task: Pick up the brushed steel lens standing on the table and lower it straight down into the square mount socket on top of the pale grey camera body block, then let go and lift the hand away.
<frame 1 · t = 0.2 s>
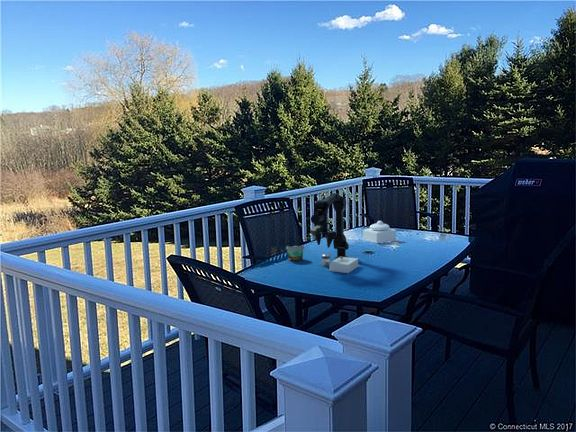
hand: (323, 246, 287), 13 cm above the table, tool pointing down, fingers open, 9 cm apart
camera body: (344, 268, 285), on the table
steel lens: (326, 265, 293), on the table
butter dish: (379, 241, 360), on the table
food container: (296, 261, 308), on the table
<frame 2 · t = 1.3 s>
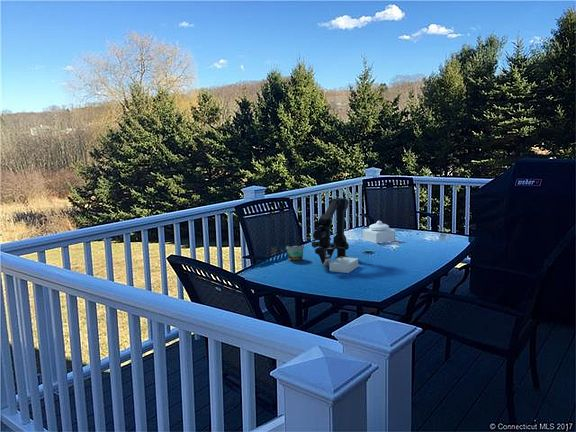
hand: (325, 261, 292), 3 cm above the table, tool pointing down, fingers open, 9 cm apart
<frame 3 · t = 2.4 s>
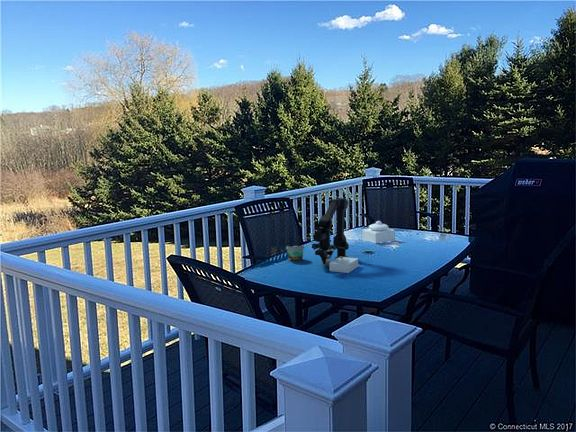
hand: (325, 263, 293), 2 cm above the table, tool pointing down, fingers closed on steel lens, 5 cm apart
steel lens: (326, 265, 293), on the table, touching gripper
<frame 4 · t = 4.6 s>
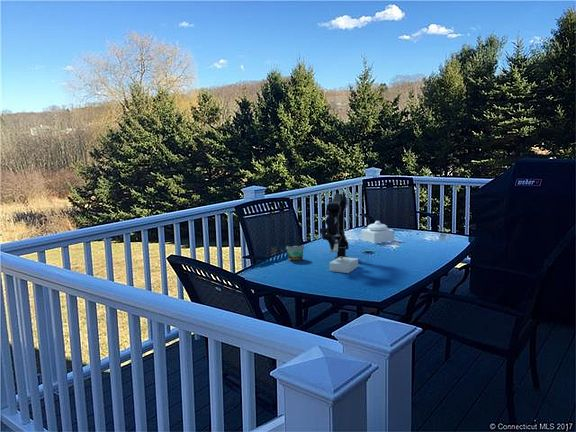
hand: (334, 248, 287), 12 cm above the table, tool pointing down, fingers closed on steel lens, 5 cm apart
steel lens: (334, 251, 287), point 10 cm above the table, touching gripper
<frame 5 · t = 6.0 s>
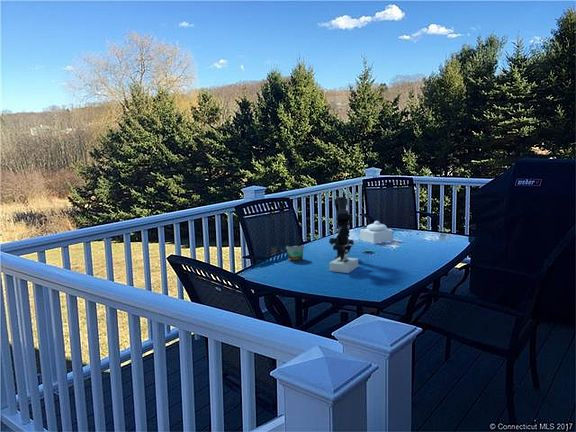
hand: (343, 258, 284), 6 cm above the table, tool pointing down, fingers closed on steel lens, 5 cm apart
steel lens: (343, 261, 284), point 5 cm above the table, touching gripper
when the fingers open (6 cm above the table, at t = 6.8 s): steel lens drops 2 cm, resting on camera body.
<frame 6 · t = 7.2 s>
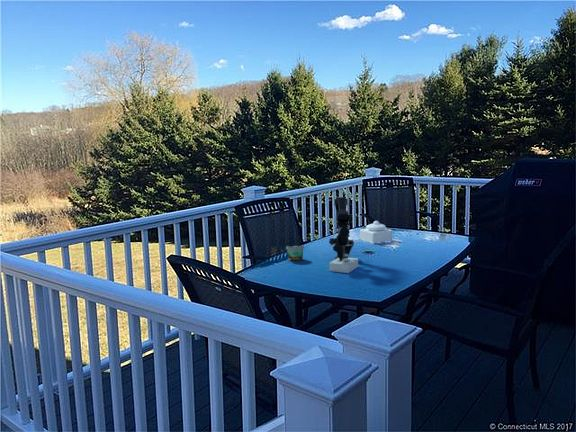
hand: (343, 259, 284), 6 cm above the table, tool pointing down, fingers open, 9 cm apart
steel lens: (344, 265, 284), point 2 cm above the table, touching camera body
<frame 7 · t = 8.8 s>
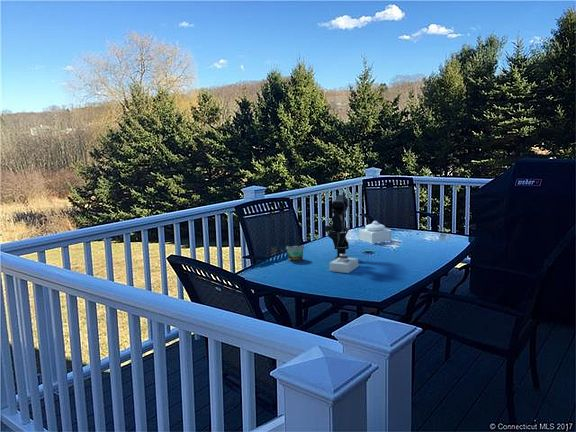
hand: (338, 245, 295), 12 cm above the table, tool pointing down, fingers open, 9 cm apart
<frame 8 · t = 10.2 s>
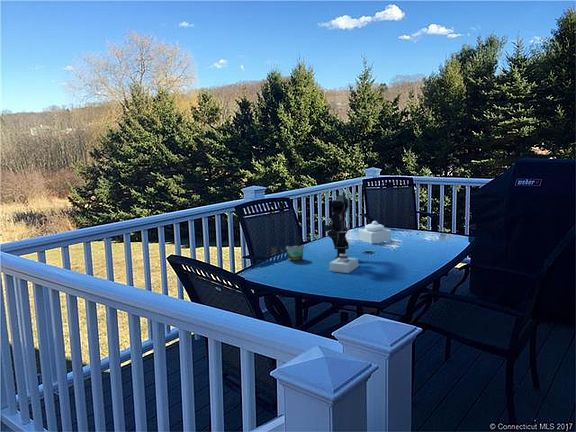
hand: (338, 244, 295), 12 cm above the table, tool pointing down, fingers open, 9 cm apart
at the end: steel lens 0.1 cm off-centre on the camera body, point 2.1 cm above the camera body's base; steel lens tilted 2°; the gripper is holding nothing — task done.
